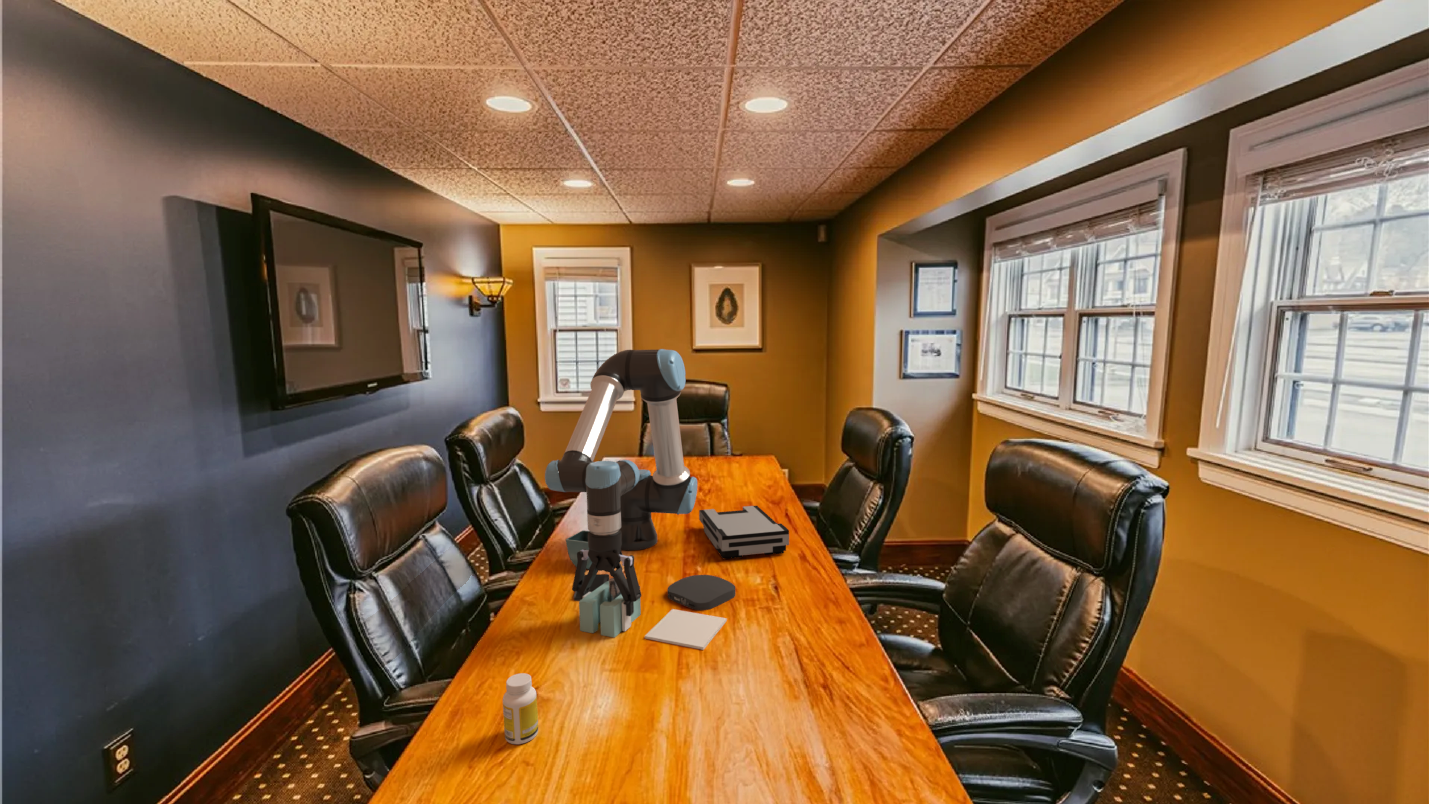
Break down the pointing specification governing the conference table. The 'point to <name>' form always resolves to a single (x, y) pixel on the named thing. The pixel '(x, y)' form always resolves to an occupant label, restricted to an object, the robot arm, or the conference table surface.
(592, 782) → the conference table surface
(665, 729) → the conference table surface
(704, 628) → the mat
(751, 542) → the game console
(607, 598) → the green u-shaped block
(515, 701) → the supplement bottle
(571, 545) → the flower pot
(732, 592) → the media streaming box
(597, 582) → the phone
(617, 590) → the grey cylinder
